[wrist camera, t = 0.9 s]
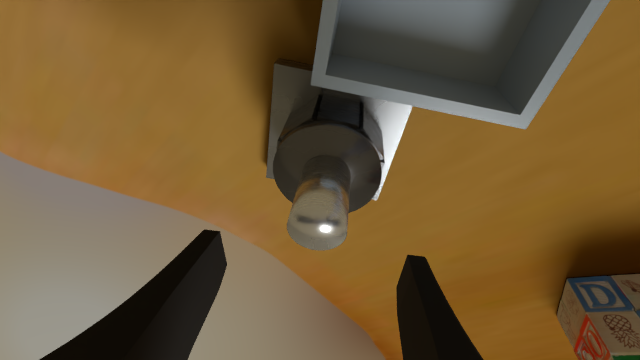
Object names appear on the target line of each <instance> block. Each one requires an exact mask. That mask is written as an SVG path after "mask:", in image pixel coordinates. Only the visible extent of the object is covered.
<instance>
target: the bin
mask: <svg viewBox="0 0 640 360" xmlns="http://www.w3.org/2000/svg"><path fill="white" fill-rule="evenodd" d="M609 1H610V0H323V3H322V10H321V17H320V24H319V31H318V37H317V44H316V51H315V58H314V64H313V71H312V78H311V85H313V86H318V87H322V88H327V89H332V90H337V91H342V92H347V93H352V94H356V95H361V96H366V97H371V98H376V99H381V100H386V101H390V102H395V103H400V104H405V105H410V106H415V107H420V108H424V109H429V110H434V111H439V112H444V113H449V114H454V115H458V116H463V117H468V118H473V119H478V120H483V121H488V122H492V123H497V124H502V125H507V126H512V127H517V128H522V129H526V128H527V127H528V125H529V124H530V122H531V121H532V119H533V118H534V116H535V115H536V113H537V111H538V110H539V108H540V107H541V105H542V104H543V102H544V101H545V99H546V98H547V96H548V95H549V93H550V92H551V90H552V88H553V87H554V85H555V84H556V82H557V81H558V79H559V78H560V76H561V75H562V73H563V72H564V70H565V69H566V67H567V66H568V64H569V62H570V61H571V59H572V58H573V56H574V55H575V53H576V52H577V50H578V49H579V47H580V46H581V44H582V43H583V41H584V39H585V38H586V36H587V35H588V33H589V32H590V30H591V29H592V27H593V26H594V24H595V23H596V21H597V20H598V18H599V16H600V15H601V13H602V12H603V10H604V9H605V7H606V6H607V4H608V3H609Z"/></svg>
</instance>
